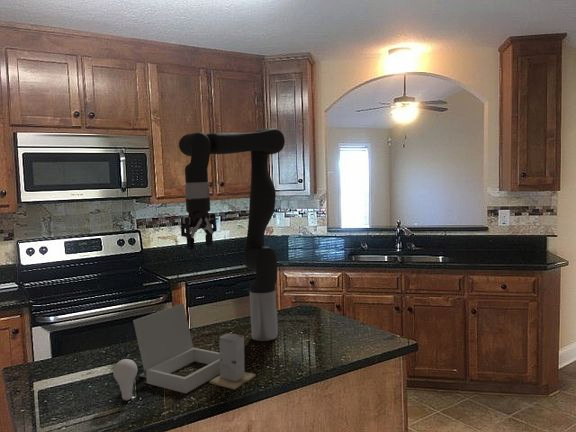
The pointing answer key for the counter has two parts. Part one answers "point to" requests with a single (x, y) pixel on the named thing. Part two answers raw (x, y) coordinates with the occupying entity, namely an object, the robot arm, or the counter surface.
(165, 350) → the lid
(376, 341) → the counter surface
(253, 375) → the mat
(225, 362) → the skincare box
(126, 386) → the lightbulb
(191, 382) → the case
